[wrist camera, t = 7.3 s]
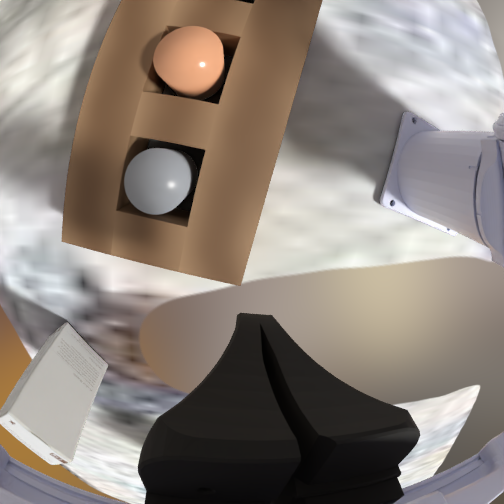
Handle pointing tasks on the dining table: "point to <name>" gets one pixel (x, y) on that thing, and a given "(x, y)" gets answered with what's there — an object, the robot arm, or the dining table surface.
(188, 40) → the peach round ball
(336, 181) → the dining table surface
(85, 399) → the skincare box
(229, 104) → the walnut button box
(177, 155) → the slate plunger
